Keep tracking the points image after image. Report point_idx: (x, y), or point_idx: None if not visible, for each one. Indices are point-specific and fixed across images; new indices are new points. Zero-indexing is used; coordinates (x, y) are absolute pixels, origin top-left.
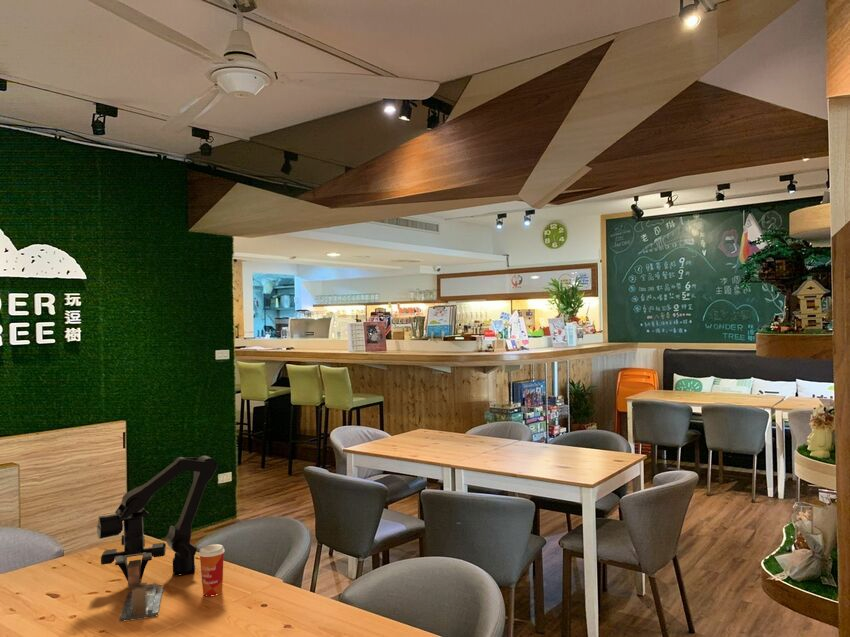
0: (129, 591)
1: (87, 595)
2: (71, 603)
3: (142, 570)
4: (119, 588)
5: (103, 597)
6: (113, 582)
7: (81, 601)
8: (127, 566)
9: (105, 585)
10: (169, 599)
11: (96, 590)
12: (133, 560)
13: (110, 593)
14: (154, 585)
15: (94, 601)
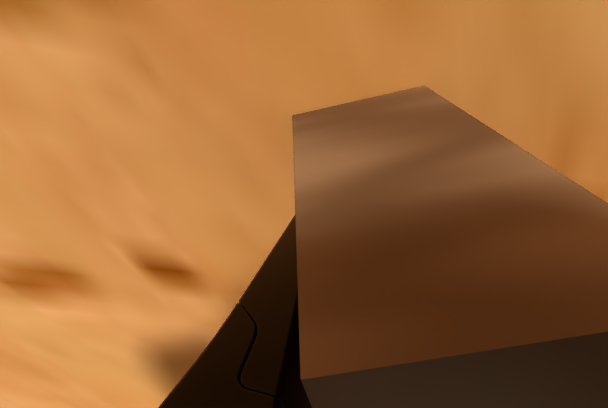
0: None
1: (38, 315)
2: (32, 387)
3: None
4: (241, 237)
5: (197, 348)
6: (60, 65)
7: (79, 374)
8: (302, 384)
9: (26, 145)
10: None
11: (33, 246)
12: (449, 356)
13: (213, 306)
14: None
15: (172, 380)
